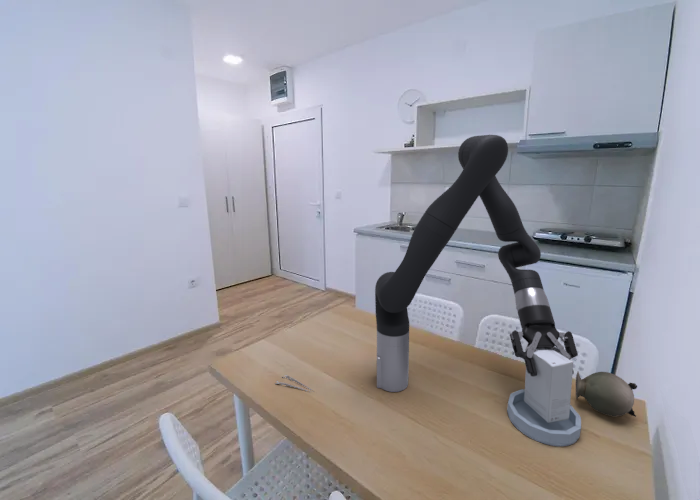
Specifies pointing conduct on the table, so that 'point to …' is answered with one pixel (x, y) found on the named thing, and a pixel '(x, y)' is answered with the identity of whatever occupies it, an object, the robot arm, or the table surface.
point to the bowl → (542, 423)
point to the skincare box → (550, 385)
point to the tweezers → (292, 385)
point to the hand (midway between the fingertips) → (551, 376)
